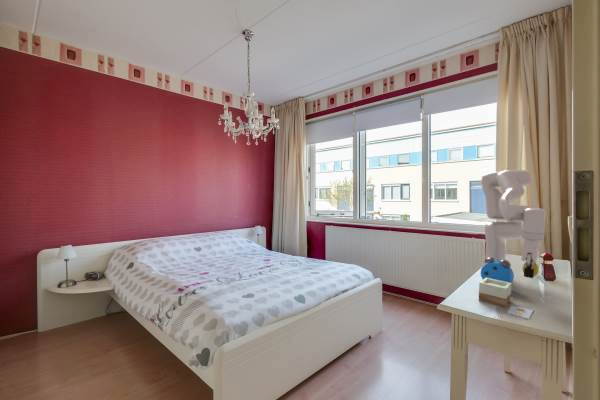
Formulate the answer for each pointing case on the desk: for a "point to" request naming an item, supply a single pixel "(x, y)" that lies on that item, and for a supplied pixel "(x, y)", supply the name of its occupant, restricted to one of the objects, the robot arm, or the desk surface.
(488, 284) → the top brick
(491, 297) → the base brick
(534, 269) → the lemon
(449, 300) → the desk surface
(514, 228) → the robot arm
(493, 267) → the alarm clock
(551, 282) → the desk surface
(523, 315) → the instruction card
